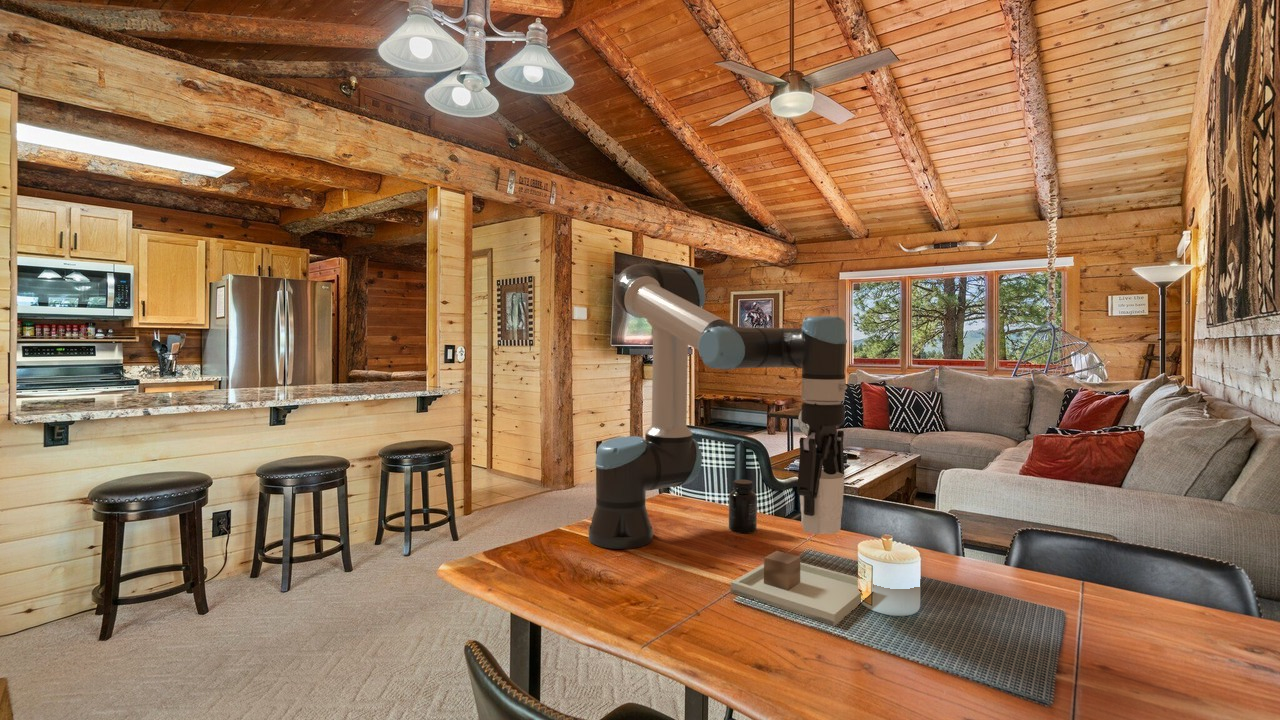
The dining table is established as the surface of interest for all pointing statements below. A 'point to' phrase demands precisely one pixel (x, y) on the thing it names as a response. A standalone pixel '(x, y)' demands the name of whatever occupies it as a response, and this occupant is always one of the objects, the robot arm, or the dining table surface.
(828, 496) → the white cup
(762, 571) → the tray
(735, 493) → the supplement bottle
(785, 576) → the walnut block
